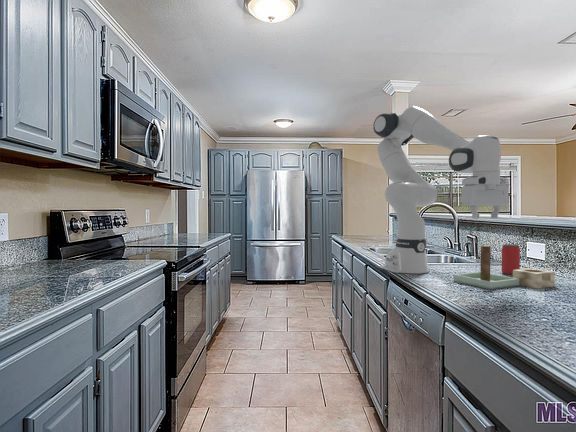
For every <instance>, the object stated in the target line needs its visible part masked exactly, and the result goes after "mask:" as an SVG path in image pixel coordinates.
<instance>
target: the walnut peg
mask: <svg viewBox="0 0 576 432" xmlns="http://www.w3.org/2000/svg"><path fill="white" fill-rule="evenodd" d="M491 249H492V248H491V245H481V246H480V269H479V270H480V271H479V272H480V280H485V281H490V274H491V253H492V252H491V251H492V250H491Z"/></svg>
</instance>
